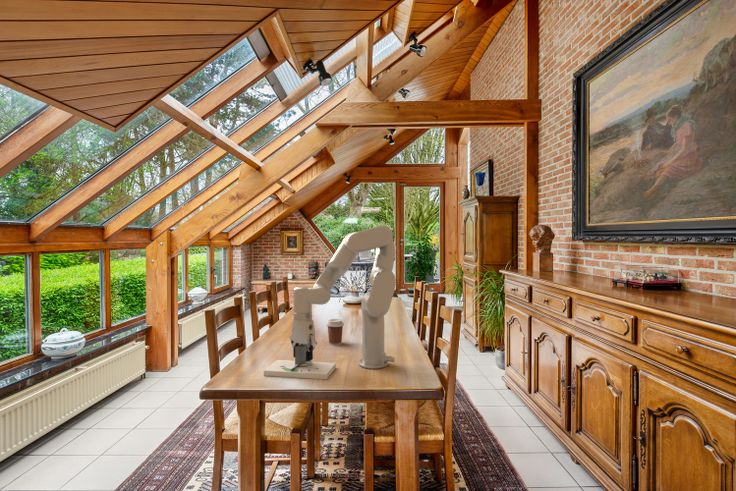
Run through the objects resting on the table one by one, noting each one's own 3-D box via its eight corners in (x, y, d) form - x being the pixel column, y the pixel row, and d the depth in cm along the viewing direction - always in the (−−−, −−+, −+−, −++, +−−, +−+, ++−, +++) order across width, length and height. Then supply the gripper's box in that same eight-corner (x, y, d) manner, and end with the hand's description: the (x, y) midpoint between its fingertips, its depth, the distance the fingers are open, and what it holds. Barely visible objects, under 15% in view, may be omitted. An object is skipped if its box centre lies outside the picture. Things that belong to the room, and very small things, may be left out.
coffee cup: (325, 345, 205) (325, 322, 204) (327, 341, 214) (326, 318, 213) (343, 345, 205) (343, 322, 205) (344, 341, 214) (344, 318, 214)
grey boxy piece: (300, 360, 174) (300, 341, 174) (314, 361, 172) (314, 343, 172) (283, 370, 162) (283, 350, 161) (299, 372, 159) (299, 351, 159)
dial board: (335, 367, 171) (335, 362, 171) (326, 379, 157) (326, 373, 157) (277, 364, 176) (277, 359, 176) (263, 375, 162) (263, 370, 162)
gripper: (323, 317, 166) (324, 360, 167) (296, 312, 177) (296, 352, 178) (310, 320, 160) (310, 365, 161) (282, 315, 172) (282, 356, 172)
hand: (303, 358), depth 169 cm, fingers open, 7 cm apart
